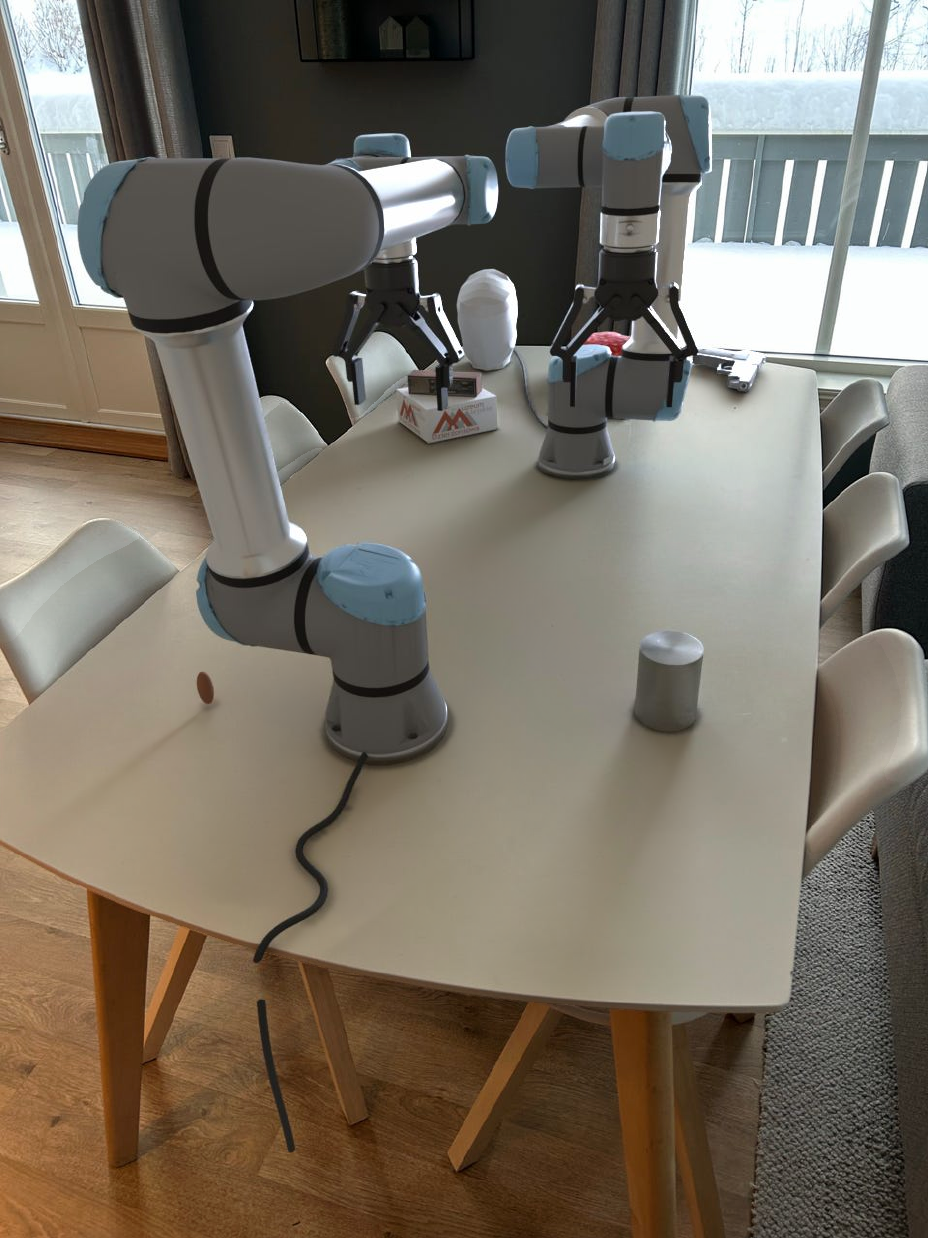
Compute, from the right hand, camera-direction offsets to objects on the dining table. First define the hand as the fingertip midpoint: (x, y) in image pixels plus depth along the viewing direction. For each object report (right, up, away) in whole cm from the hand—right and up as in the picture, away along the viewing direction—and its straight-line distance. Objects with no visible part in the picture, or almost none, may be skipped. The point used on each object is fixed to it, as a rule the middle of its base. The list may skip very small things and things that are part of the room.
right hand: (620, 404), depth 130 cm
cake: (+14, +34, +106) cm, 113 cm away
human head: (-16, +38, +115) cm, 122 cm away
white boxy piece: (-26, +13, +76) cm, 82 cm away
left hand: (-32, +2, +8) cm, 33 cm away
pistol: (+43, +31, +100) cm, 113 cm away
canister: (+3, -43, -17) cm, 46 cm away
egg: (-56, -42, -11) cm, 71 cm away
